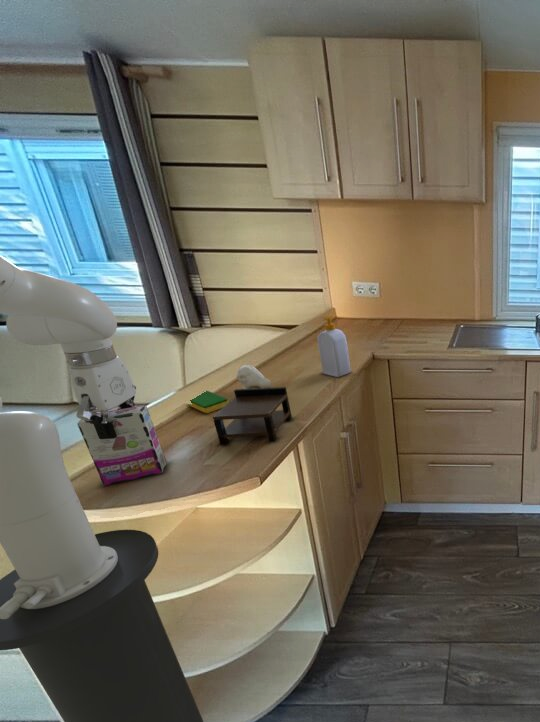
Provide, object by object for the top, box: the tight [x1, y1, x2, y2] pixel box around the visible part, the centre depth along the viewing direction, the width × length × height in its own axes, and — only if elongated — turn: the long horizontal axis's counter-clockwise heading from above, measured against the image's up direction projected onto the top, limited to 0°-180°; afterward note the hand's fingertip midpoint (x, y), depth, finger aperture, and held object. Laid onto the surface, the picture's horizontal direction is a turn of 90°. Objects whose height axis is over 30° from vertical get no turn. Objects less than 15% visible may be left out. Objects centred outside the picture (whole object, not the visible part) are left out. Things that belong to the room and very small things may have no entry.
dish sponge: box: [187, 390, 230, 414], centre depth 133 cm, size 7×14×2 cm, turn 59°
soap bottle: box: [317, 315, 352, 378], centre depth 157 cm, size 9×7×23 cm
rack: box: [212, 386, 293, 446], centre depth 115 cm, size 14×14×10 cm
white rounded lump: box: [236, 364, 272, 389], centre depth 144 cm, size 6×8×12 cm
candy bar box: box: [76, 404, 168, 486], centre depth 94 cm, size 11×5×16 cm, turn 117°
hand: (119, 430), depth 93 cm, fingers closed on candy bar box, 6 cm apart
